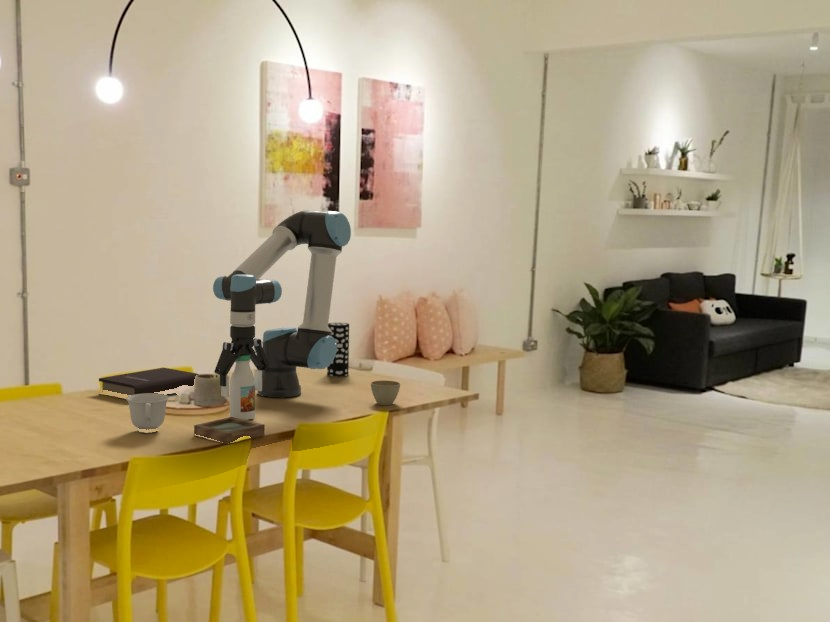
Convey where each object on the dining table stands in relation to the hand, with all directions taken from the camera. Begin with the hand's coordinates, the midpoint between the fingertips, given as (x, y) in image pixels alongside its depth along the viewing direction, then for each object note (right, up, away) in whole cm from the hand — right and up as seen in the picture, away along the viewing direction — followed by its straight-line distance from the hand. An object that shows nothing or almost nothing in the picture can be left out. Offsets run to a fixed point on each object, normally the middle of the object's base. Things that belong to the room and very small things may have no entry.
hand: (241, 393), depth 288 cm
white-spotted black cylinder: (+23, 0, +77) cm, 80 cm away
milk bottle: (0, -8, +1) cm, 8 cm away
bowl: (+43, -6, +27) cm, 52 cm away
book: (-38, -3, +37) cm, 54 cm away
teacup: (-24, -10, -19) cm, 32 cm away
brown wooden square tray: (0, -10, -20) cm, 23 cm away
